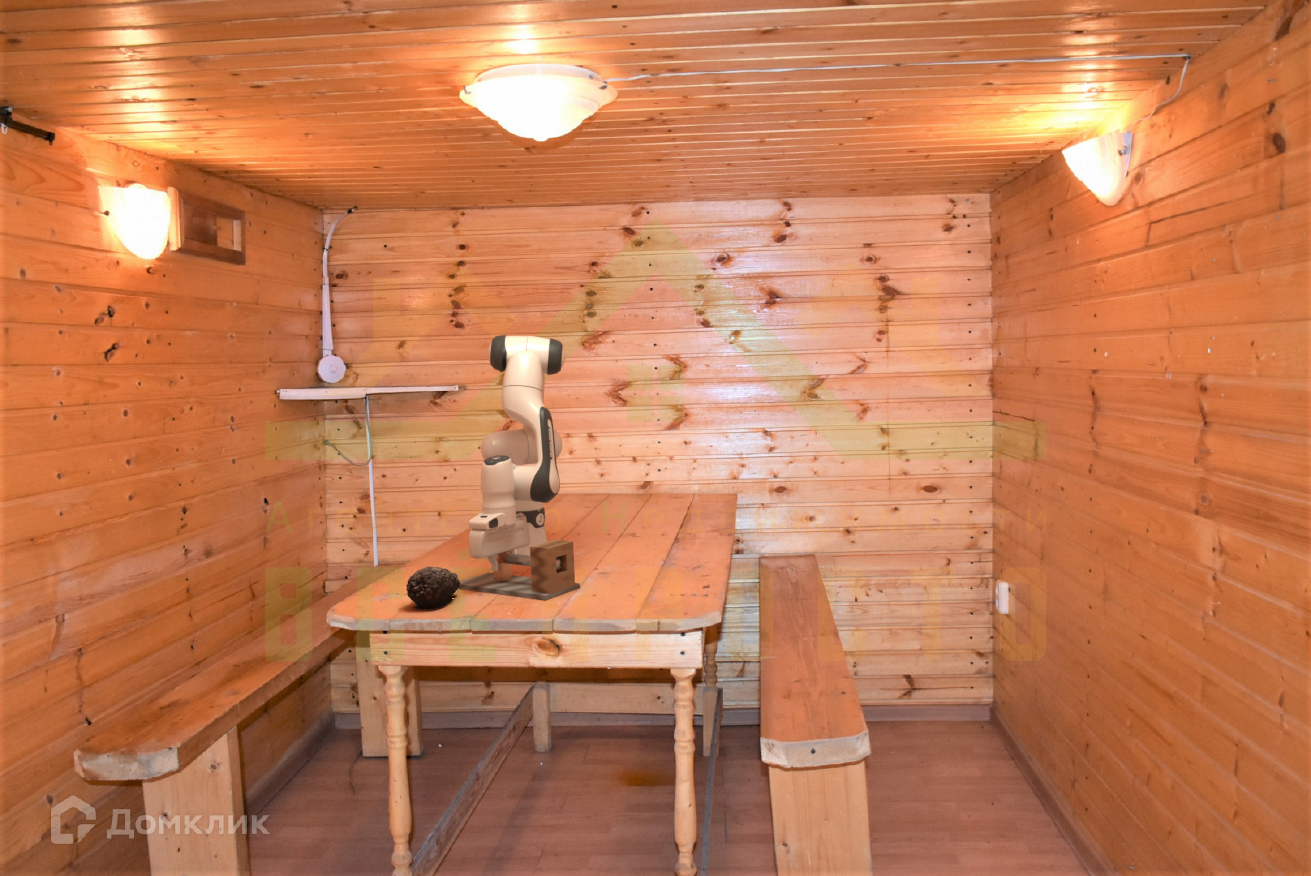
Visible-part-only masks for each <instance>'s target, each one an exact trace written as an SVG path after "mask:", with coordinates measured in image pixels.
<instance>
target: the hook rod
mask: <svg viewBox="0 0 1311 876" xmlns="http://www.w3.org/2000/svg"><path fill="white" fill-rule="evenodd" d="M496 560H497V563H498V564H500V570H498V571H493V573H494V580H502V581H504V580H507V579H510V578H511V575H512V567H511V564H512V565H514V566H515V565H516V566H522V567H523V566H524V567H531V560H530V555H522V554H512V553H510V551H507V552H503V553H500V554H497V558H496ZM562 565H563V562H562V560H561V559H560V558H556V569H558V570H559V569H561V568H562Z"/></svg>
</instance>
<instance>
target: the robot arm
mask: <svg viewBox="0 0 1311 876" xmlns="http://www.w3.org/2000/svg"><path fill="white" fill-rule="evenodd" d="M487 358H488V360H489V366H491V367H492V368H493V369H494V370H495V371H498V372H500V373H503V372H504V375H503V380H502V387H501V388H502V389H501V406H502V409H503V411H504V412H505V414H506V415H507V416H508V417H509V419H511V420H513V421H515V422H517V423H520V424H522V428H519V429H508V430H507V429H506V430H505V429H504V430H499V431H493V432H491V433H488V434H486V435H485V436H484V438H483V439H482V441H481V445H480V453H481V457H482V458H483V461H482V464H481V470H480V491H481V495H482V504H481V505H482V506H481V510H482V511H480V512H479V513H477V514H476V516H474V517H473V518H471V519H469V521H468V528H469V529H471V530H470V531H469V535H468V548H469V549H468V550H469V555H470V557H471V558H473V559H485V558H487V560H488V562H489V563H490V565H491V571H492V572H494V571H498V570H500V564H498V563H497V560H496V558H497V554H500V553H503V552H507V551H510V553H512V554H522V555H530V547H531V546H534V545H538V544H541V543H545V542H548V541H549V540H548V537H547V531H546V526H545V523H546V522H545V521H546V510H545V507H544V504H547V503H549V502H551V501H552V500H553V499H554V498H555V497H556V496H557V495H558V494H559V492H560V487H561V480H560V475H559V469H558V465H557V458H559V456H560V454H561V453H562V451H563V439H562V437H561V435H560V433H559V432H558V431H557V430H556V429H554V421H553V418H552V413H551V411H550V410H549V409H548V408H547V407H546V406H545V405H544V403H545V402H544V401H545V400H544V398H545V384H546V383H545V381H546V380H545V379H546V378H545V375H547V376H550V375H551V376H553V375H556V374H559V373H560V372H561V371H562V368H563V367H564V364H565V360H566V352H565V348H564V344H563V343H562V341H560V340H558V339H555V338H550V339H549V338H546V337H541V336H535V335H534V336H533V335H506V334H502V335H501V334H500V335H495V336H494V337H493V338H492V339H491V342H490V344H489V346H488V350H487ZM529 464H530V465H529ZM532 464H533V465H532ZM534 464H535V465H534ZM512 566H513V564H511V568H512Z"/></svg>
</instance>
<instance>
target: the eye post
mask: <svg viewBox="0 0 1311 876" xmlns="http://www.w3.org/2000/svg"><path fill="white" fill-rule="evenodd" d="M547 541H548V542H545V543H541V544H538V545H534V546H531V547H530V560H531V566H530V572H531V573H530V575H531V577H529V576H522V575H514V574H513V575H512V574H511V578H510V579H507V580H504V581H502V580H494V572H487V573H483V574H480V575H476V576H472V577H470V578H466V579H462V580H460V585H459V588H458V589H457V590H459V589H460V590H466V589H468V591H473V590H474V592H481V593H489V594H497V595H503V596H511V597H519V598H525V599H532V600H540V601H547V600H550V599H553V598H557V597H559V596H562V595H565V594H567V593H570V592H572V591H575V590H579V589H580V588H581V583H579V582H576V576H575V575H576V574H575V556H574V555H575V554H574V553H575V552H574V551H575V550H574V540H573V541H572V540H564V539H552V540H547ZM556 558H560V559H561V560H562V562H563V565H562V568H561V569H559V570H558V569H556Z"/></svg>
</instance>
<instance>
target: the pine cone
mask: <svg viewBox="0 0 1311 876" xmlns="http://www.w3.org/2000/svg"><path fill="white" fill-rule="evenodd" d="M460 581H461V580H460V579H459V577H458V574H457V573H456V572H451V570H449V569H447V568H445V567H444V568H443V567H440V566H435V567H434V566H425V567H424V568H421V569H418V570H417V571H415V572H414V573H413V574H412V575H410V577H409V578H408V579H407V583H406V592H407V597H408V598H409V599H410V600H411V601H412V602H413V603H414V604H415V605H414V606H413V607H412V609H415V610H419V611H435V610H439V609H442V607H443V608H445V607H446V606H448V605H450V604H451V603H452V602H454V601H455V599H452V598H456V599H457V598H458V595H457V596H455V594H456V592H457V591H458V590H459V589H458V588H459V585H460ZM452 596H455V597H452Z"/></svg>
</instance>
